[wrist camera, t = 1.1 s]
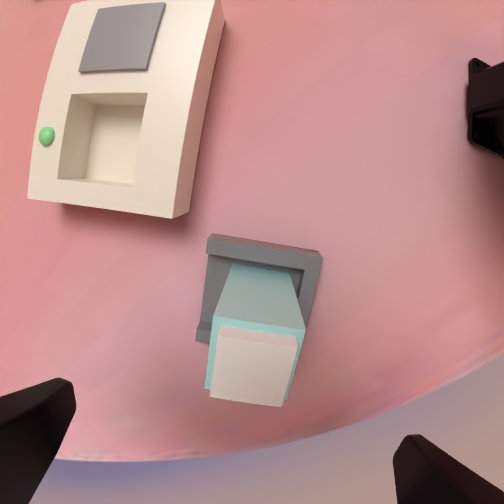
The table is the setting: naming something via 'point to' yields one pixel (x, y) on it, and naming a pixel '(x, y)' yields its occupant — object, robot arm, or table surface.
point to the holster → (259, 256)
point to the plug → (255, 337)
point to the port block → (126, 105)
